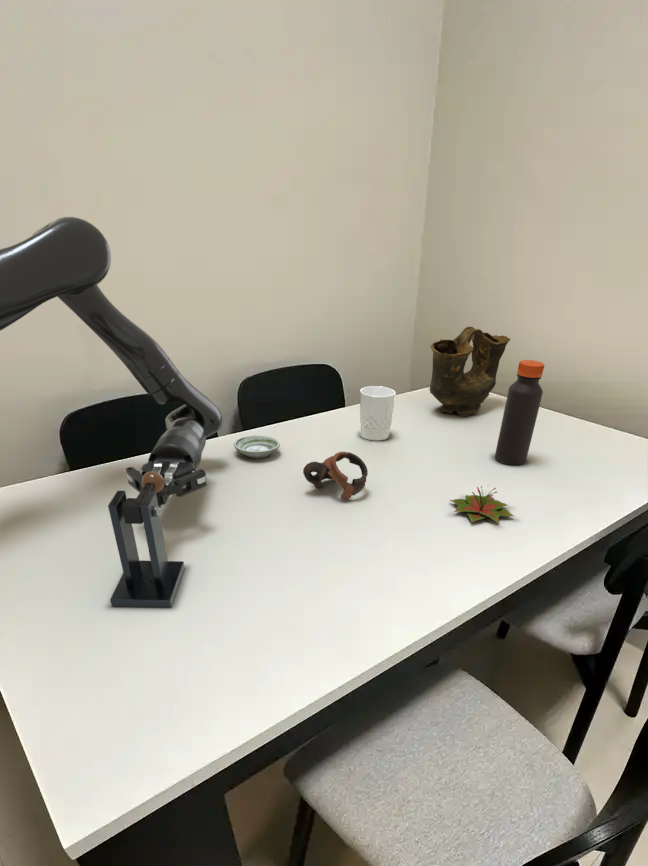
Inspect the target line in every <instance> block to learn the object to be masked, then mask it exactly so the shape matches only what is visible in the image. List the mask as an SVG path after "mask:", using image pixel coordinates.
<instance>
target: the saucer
mask: <svg viewBox="0 0 648 866" xmlns="http://www.w3.org/2000/svg"><path fill="white" fill-rule="evenodd" d="M233 447H234V449H235V450H237V451H238V452H239V453H241V454H242V455H244V456H246V457H248V458H252V459H263V458H266V457H269V455H272V454H273V453H275V452H276V451H277V450H279V448H280V447H281V443H280V440H278V439H277V438H275V437H273V436H269V435H263V434H261V435H260V434H253V435H245V436H241V437H239V438H237V439H236V440H234V441H233Z"/></svg>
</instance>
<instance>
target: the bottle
mask: <svg viewBox="0 0 648 866" xmlns="http://www.w3.org/2000/svg"><path fill="white" fill-rule="evenodd" d="M544 368H545V363H544V362H542V361H539V360H533V359H523V360H519V362H518V366H517V371H516V377H517V378H516V381H514V382H513V383H512V384H510V386H509V387H508V390H507V396H506V400H505V406H504V411H503V415H502V420H501V425H500V428H499V434H498V439H497V444H496V448H495V453H494V458H495V459H496V461H497V462H499V463H501V464H504V465H508V466H520V465H523V464H525V463H526V461H527V459H528V455H529V451H530V447H531V442H532V438H533V434H534V430H535V426H536V422H537V418H538V414H539V410H540V406H541V402H542V397H543V394H544V392H543V389H542V387H541V385H540V383H539V382H540V380H541V379H542V376H543V373H544Z"/></svg>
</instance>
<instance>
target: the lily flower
mask: <svg viewBox="0 0 648 866" xmlns="http://www.w3.org/2000/svg"><path fill="white" fill-rule="evenodd" d="M482 486H483V485H480V488H481V490H483V487H482ZM487 486H489V484H487ZM480 488H479V487H478V486H476V489H477V492H478V494H475V492H474V491H472V492H471V494H470V495H468V494H465V496H464V497H465V499H464V498H457V499H456V498H455V499H449V501H450V502H452V503H453V504H455V505H457V507H456V508H455V510H454V511H453V513H460V512H463V513H464V512H466V515H467V516H468V518H469V519H470V522H471V523H473V522H476V521H479V520H483V519H486V518H487V517H488V518H490V519H491V520H492V521H495V522H496V523H497V524H499V520H500V517H515V518H516V516H515V515H514V514H513V513H511V512H510V511H509V510H507V509H505V508H504V507H507V506H508V504H507V503H504V502H501V501H500V500H497V499H495V498H494V494H498V491H494V490H496V489H497V488H496V487H494V488H493V489H492V491H494V492H492V493H491V491H489V492H488V493H487V491H485V492H484V494H483V495H482V491H481V490H480Z"/></svg>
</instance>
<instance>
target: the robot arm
mask: <svg viewBox="0 0 648 866" xmlns="http://www.w3.org/2000/svg"><path fill="white" fill-rule="evenodd" d="M111 255H112V254H111V249H110V245H109V243H108V240H107V239H106V237H105V236H104V234H103V233H102V232H101V231H100V229H99V228H97V227H96V226H95V225H94V224H92V223H91V222H90V221H87V220H86V219H83V218H80V217H75V216H62V217H59V218H56V219H54V220H53V221H51V222H48V224H45V225H44V226H41V228H38V230H35V232H33V233H32V234H31V236H29V237H28V238H26V239H24V240H22V241H19V242H17V243H16V244H15V243H14V244H12V245H10V246H7V247H3V248H0V332H1V331H3V330H4V329H6V328H7V327H9V326H12V325H13V324H14V323H16V322H18V321H19V320H21V319H22V318H24V317H25V316H27V315H28V314H29V313H31V312H32V311H34V310H35V309H36V308H38V307H40V306H41V305H42V304H44V303H46V302H48V301H51V300H52V299H56V298H58V299H59V300H60V301H62V303H63V304H65V306H66V307H67V308H69V310H71V311H72V312H73V313H74V314H75V315H76V316H77V317H78V318H79V320H80V321H82V322H83V323H84V324H85V325H86V326H87V327H88V328H89V329H90V330H91V331H92V332H93V333H94V334H95V335H96V336H97V337H98V338H99V339H100V340H101V341H102V342H103V343H104V344H105V345H106V346H107V347H108V348H109V349H110V350H111V352H112V353H113V354H114V355H116V357H117V358H118V359H119V361H121V363H122V364H123V365H124V366H125V367H126V369H127V370H128V371H129V372H130V374H131V375H132V376H133V378H134V379H135V380H136V381H137V382H138V384H140V386H141V387H142V389H143V390H144V391H145V393H147V395H148V396H149V397H150V398H151V399H152V401H153V402H155V403H156V404H158V405H160V406H161V405H163V406H164V405H168V404H173V403H181V404H183V405H181V406H180V407H178V408H176V409H174V410H173V411H171V412H170V413H169V414H168V415H166V417H165V419H164V425H165V432H164V433H162V434H161V436H160V437H159V439H158V440H157V442H156V443H155V446H154V447H153V449H152V450H151V452H150V454H149V457H148V461H147V462H146V463H144V464H143V465H142V466H141V469H139V468H136V469H135V468H134V467H133V466H128V467H125V472H126V478H127V483H128V485H130V487H132V488H133V489H134V490H136V492H138V494H139V493H140V492H141V490H142V489H143V487H142V483H141V481H142V477H143V475H144V474H145V473H147V472H150V471H155V472H158V473H159V474H161V475H162V477H163V478H164V482H165V485H164V488H163V490H162V491H161V492H159V493H157V494H156V495H157V501H158V507H159V509H162V506H164V505H166V504H167V502H168V500H169V499H171V498H172V497H173V496H174V495H175V496H176V497H177V498H178V497H180V498H181V497H184V496H187V495H189V494H191V493H194V492H195V491H198V490H200V489H203V488H205V487H207V485H208V483H207V473H206V469H198V468H199V466H200V464H201V461H202V455H203V451H204V449H205V446H206V443H207V438H208V437H211V436H212V435H214V434H216V433H217V432H219V431H220V430H221V428H222V426H223V417H222V414H221V411H220V409H219V408H218V406H217V405H216V403H214V402H213V400H211V399H210V398H209V397H208V396H206V395H205V394H204V393H203V392H202V391H201V390H199V389H198V388H197V387H196V386H194V385H193V384H192V383H191V382H190V381H189V380H188V379H186V377H185V376H184V375H183V374H182V373H181V372H180V370H179V369H178V368H177V366H176V365H175V364H174V362H173V361H172V359H171V358H170V356H168V354H167V353H166V351H165V350H164V349H163V348H162V347H161V345H160V344H159V343H158V342H157V341H156V340H155V339H154V338H153V337H152V336H150V334H149V333H147V332H146V331H145V330H144V329H142V328H141V327H140V326H138V325H137V324H136V323H135V322H133V321H132V320H131V319H130V318H128V317H127V316H126V315H125V314H124V313H122V312H121V311H120V310H119V309H118V308H117V306H115V305H114V304H113V303H112V302H111V301H110V300H109V298H108V297H107V296H106V295H105V293H104V292H103V291H102V290H101V288H100V287H99V284H101V283H102V281H103V280H104V279H106V277H107V275H108V273H109V271H110V268H111V262H112V256H111ZM184 486H185V487H184Z"/></svg>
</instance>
